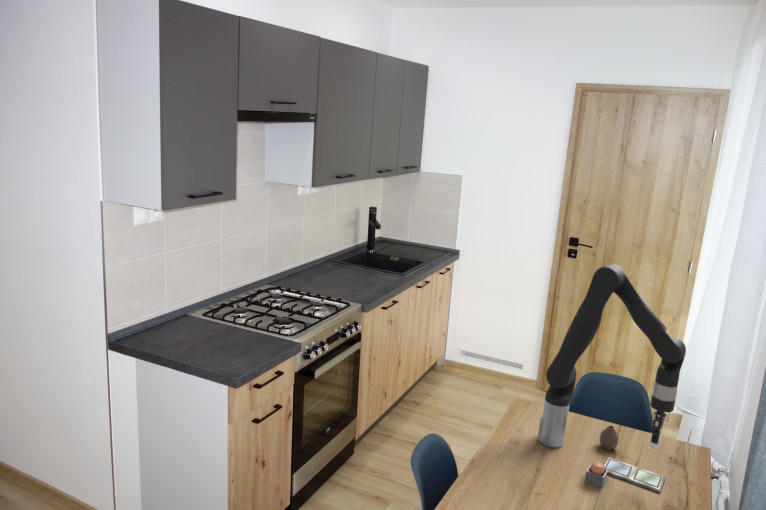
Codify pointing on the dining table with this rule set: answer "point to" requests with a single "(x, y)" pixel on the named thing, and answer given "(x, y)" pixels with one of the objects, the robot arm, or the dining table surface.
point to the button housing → (595, 477)
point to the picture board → (634, 475)
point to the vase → (609, 438)
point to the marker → (658, 440)
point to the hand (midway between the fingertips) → (655, 440)
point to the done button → (597, 468)
